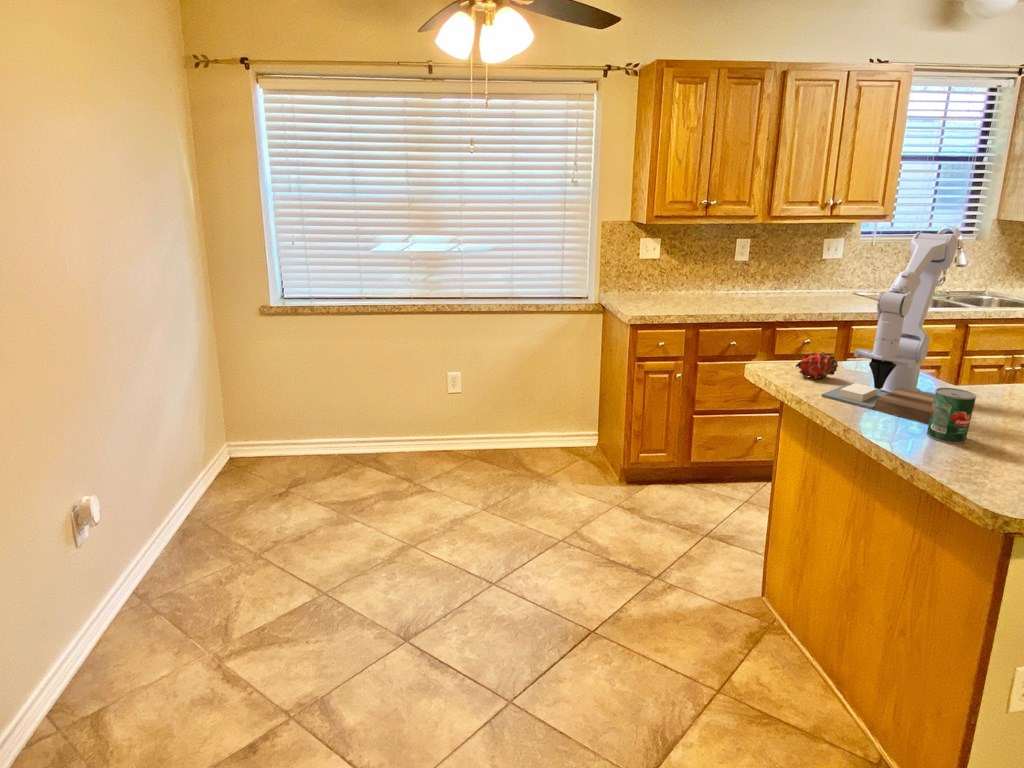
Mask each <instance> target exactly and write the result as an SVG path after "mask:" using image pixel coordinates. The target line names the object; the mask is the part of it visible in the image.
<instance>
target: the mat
mask: <svg viewBox="0 0 1024 768" xmlns="http://www.w3.org/2000/svg"><path fill="white" fill-rule="evenodd" d="M850 385H852V384H851V383H847V384H844V385H842V386H840V387H837V388H835V389H831V390H829V391H826V392H824V393H821V397H823V398H827V399H830V400H834V401H838V402H843V403H846V404H850V405H854V406H858V407H862V408H866V409H869V410H874V407H875V402H876V399H877V398H879V397H882V396H884V395H886V394H888V393H889V392H884V391H880V390H877V395H876V396H874V397H872V398H869V399H867V400H865V401H862V402H861V401H857V400H853V399H849V398H845V397H841V396H839V395H840V389H842V388H845V387H847V386H850Z"/></svg>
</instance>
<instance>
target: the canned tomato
mask: <svg viewBox="0 0 1024 768" xmlns="http://www.w3.org/2000/svg"><path fill="white" fill-rule="evenodd" d="M934 395H935V397H934V402H933V406H932V411H931V416H930V421H929V424H927V425H928V426H927V431H926V436H927V437H929V438H930V439H932V440H934V441H937V442H941V443H946V444H951V445H952V444H954V445H955V444H956V445H958V444H959V445H960V444H964V443H966V442H967V437H968V433H969V428H970V424H971V419H972V415H973V412H974V407H975V403H976V398H977V395H976V394H975V393H973V392H971V391H968V390H965V389H960V388H953V387H939V388H936V389H935V393H934Z"/></svg>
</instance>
